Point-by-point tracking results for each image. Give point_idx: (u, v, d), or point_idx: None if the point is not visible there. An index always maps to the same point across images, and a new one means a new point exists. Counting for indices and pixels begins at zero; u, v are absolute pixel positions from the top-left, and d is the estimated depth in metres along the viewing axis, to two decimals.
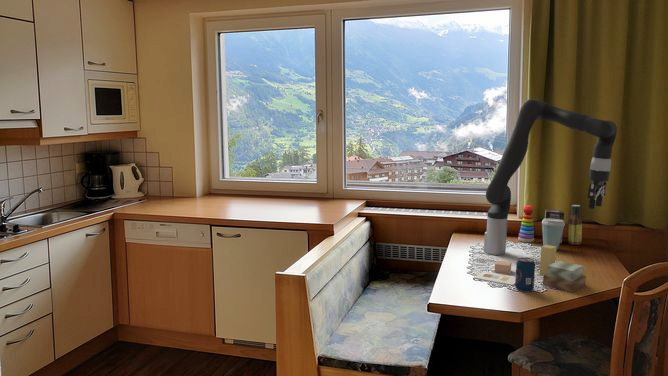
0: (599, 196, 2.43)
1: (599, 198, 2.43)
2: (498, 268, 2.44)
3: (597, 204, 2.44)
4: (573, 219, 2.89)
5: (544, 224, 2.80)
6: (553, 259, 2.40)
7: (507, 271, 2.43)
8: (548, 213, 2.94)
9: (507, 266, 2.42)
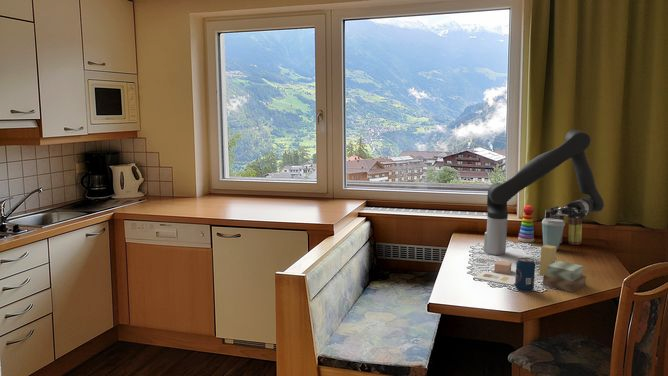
0: (556, 211, 2.53)
1: (555, 212, 2.52)
2: (498, 268, 2.44)
3: (553, 212, 2.50)
4: (573, 219, 2.89)
5: (544, 224, 2.80)
6: (553, 259, 2.40)
7: (507, 271, 2.42)
8: (548, 213, 2.94)
9: (507, 266, 2.42)
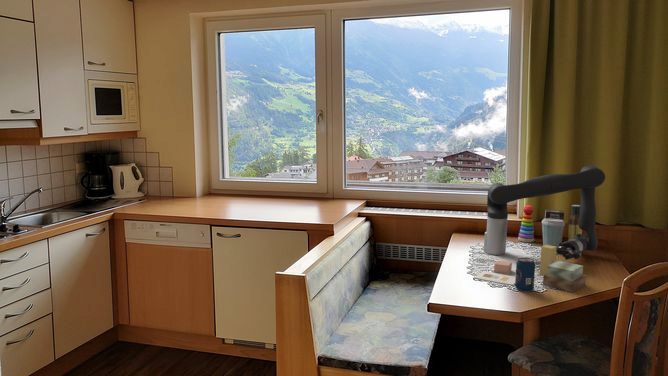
0: None
1: None
2: (497, 268, 2.44)
3: None
4: (573, 219, 2.89)
5: (544, 224, 2.80)
6: (553, 259, 2.40)
7: (506, 271, 2.42)
8: (548, 213, 2.94)
9: (506, 266, 2.42)
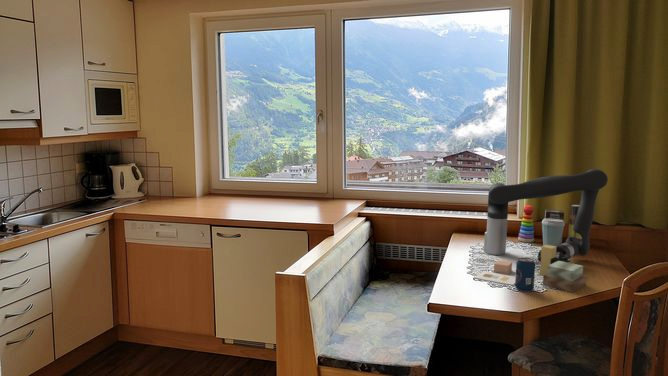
0: None
1: None
2: (497, 268, 2.44)
3: (540, 258, 2.42)
4: (573, 219, 2.89)
5: (544, 224, 2.80)
6: None
7: (506, 271, 2.42)
8: (548, 213, 2.94)
9: (506, 266, 2.42)
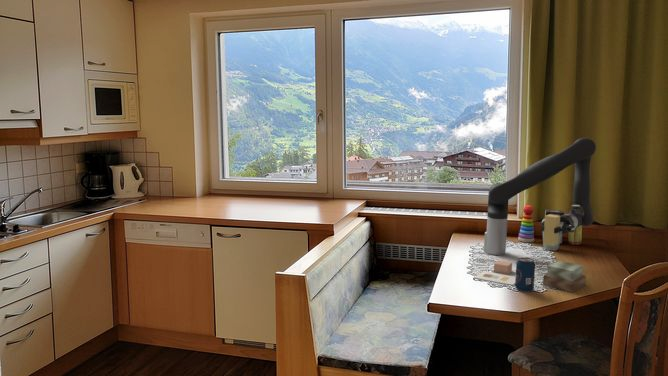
0: None
1: None
2: (497, 268, 2.44)
3: None
4: None
5: None
6: None
7: (506, 271, 2.42)
8: (548, 213, 2.94)
9: (506, 266, 2.42)
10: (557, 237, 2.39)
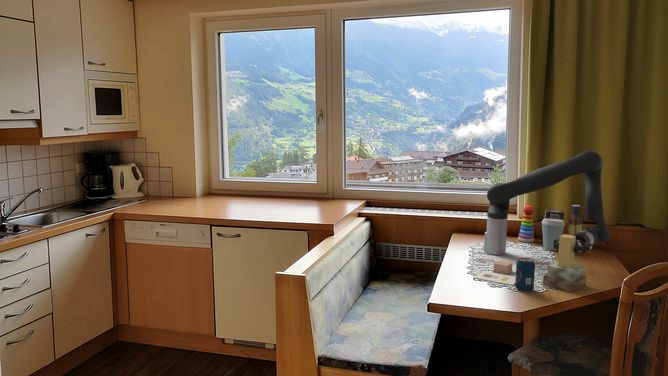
0: None
1: None
2: (497, 268, 2.44)
3: (556, 245, 2.28)
4: (573, 219, 2.89)
5: (544, 224, 2.80)
6: (572, 249, 2.25)
7: (505, 271, 2.42)
8: (548, 213, 2.94)
9: (505, 266, 2.42)
10: (572, 258, 2.27)
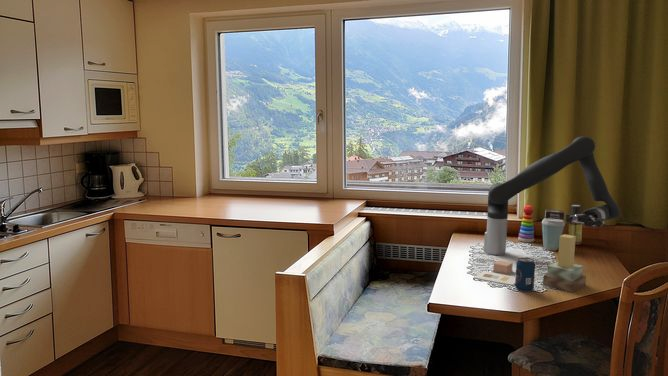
0: (572, 218, 2.42)
1: (571, 219, 2.41)
2: (496, 268, 2.45)
3: (569, 219, 2.39)
4: None
5: (544, 224, 2.80)
6: (572, 249, 2.25)
7: (505, 271, 2.42)
8: (548, 213, 2.94)
9: (505, 266, 2.42)
10: (572, 258, 2.27)
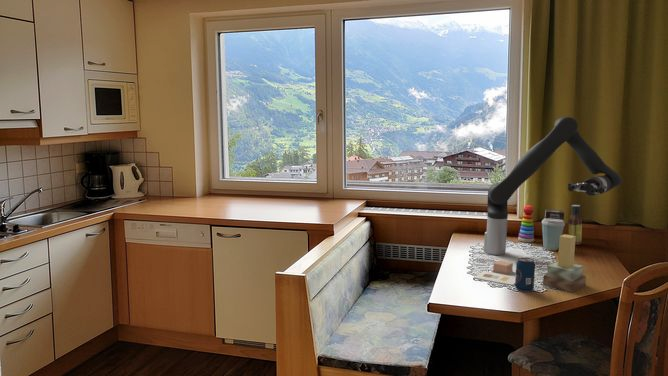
0: (574, 187, 2.43)
1: (573, 188, 2.43)
2: (496, 267, 2.45)
3: (571, 187, 2.41)
4: (573, 219, 2.89)
5: (544, 224, 2.80)
6: (572, 249, 2.25)
7: (505, 271, 2.42)
8: (548, 213, 2.94)
9: (505, 266, 2.42)
10: (572, 258, 2.27)
